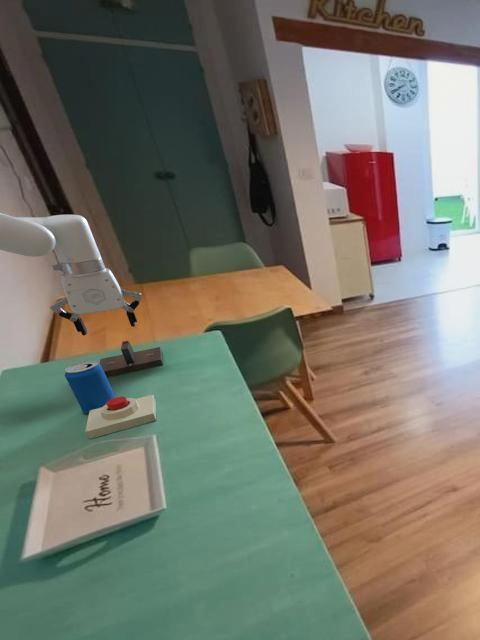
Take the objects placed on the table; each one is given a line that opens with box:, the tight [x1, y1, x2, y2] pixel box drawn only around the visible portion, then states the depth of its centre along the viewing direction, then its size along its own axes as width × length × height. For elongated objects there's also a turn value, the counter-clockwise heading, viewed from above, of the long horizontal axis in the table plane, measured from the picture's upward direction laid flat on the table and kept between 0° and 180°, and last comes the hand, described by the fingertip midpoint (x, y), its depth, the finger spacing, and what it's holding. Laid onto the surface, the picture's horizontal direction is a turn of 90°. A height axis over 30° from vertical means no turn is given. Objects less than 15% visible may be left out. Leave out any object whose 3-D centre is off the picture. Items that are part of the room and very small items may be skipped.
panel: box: [98, 346, 164, 378], centre depth 124 cm, size 14×10×2 cm
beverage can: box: [64, 360, 117, 414], centre depth 102 cm, size 6×6×12 cm
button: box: [106, 396, 129, 411], centre depth 99 cm, size 4×4×2 cm
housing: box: [84, 394, 157, 440], centre depth 100 cm, size 12×10×4 cm
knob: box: [120, 340, 135, 364], centre depth 122 cm, size 6×2×5 cm, turn 37°
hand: (109, 329), depth 111 cm, fingers open, 9 cm apart
